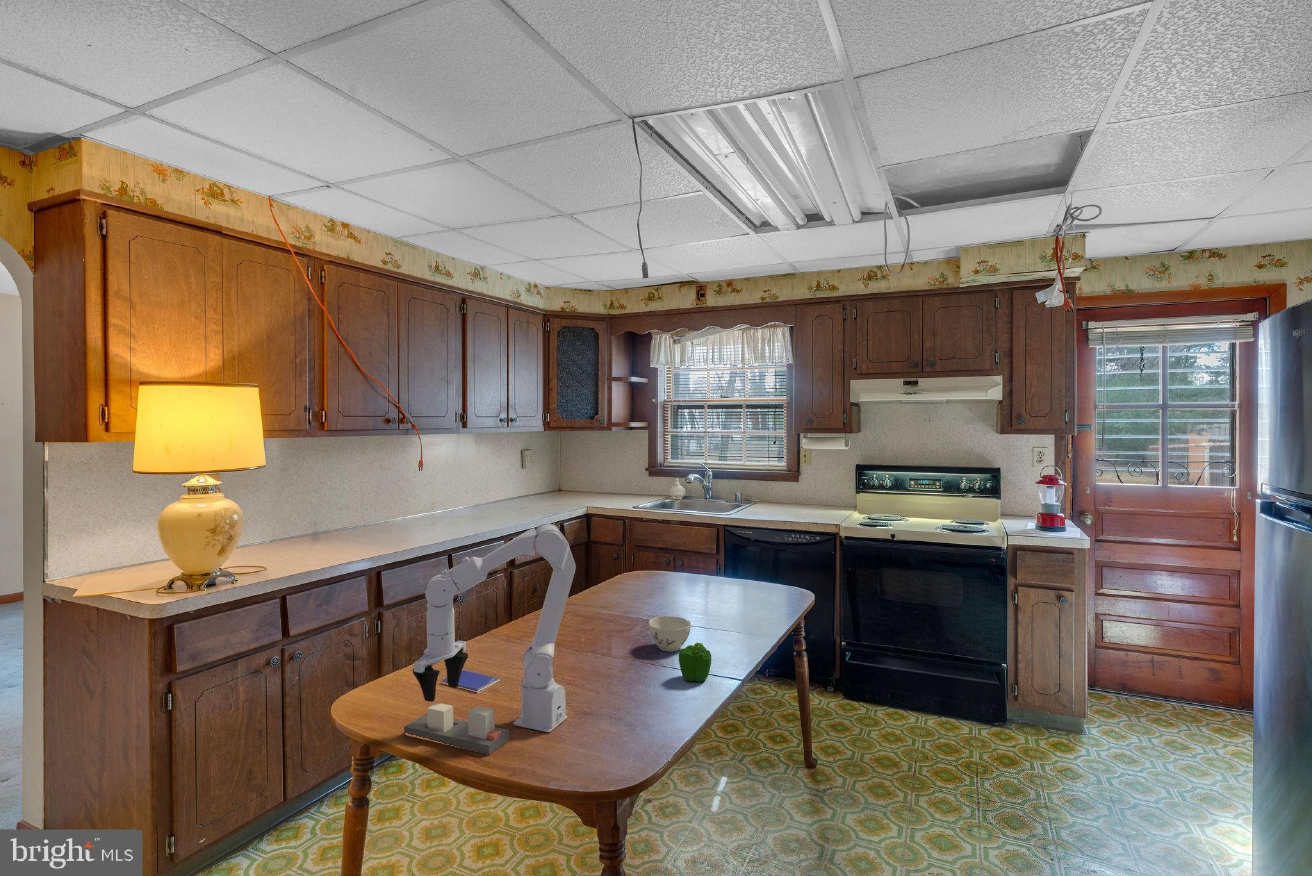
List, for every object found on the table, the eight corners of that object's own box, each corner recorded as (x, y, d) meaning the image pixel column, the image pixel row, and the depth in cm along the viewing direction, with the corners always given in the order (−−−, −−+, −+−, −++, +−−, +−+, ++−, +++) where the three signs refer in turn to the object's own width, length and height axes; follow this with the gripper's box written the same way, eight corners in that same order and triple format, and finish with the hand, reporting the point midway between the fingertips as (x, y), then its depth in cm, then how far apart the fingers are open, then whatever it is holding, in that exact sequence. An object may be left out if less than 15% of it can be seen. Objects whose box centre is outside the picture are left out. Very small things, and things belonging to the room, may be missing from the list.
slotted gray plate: (509, 739, 140) (509, 707, 140) (489, 755, 134) (488, 721, 133) (427, 721, 148) (426, 691, 148) (404, 735, 142) (403, 703, 142)
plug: (453, 733, 143) (453, 705, 143) (444, 739, 140) (443, 711, 140) (437, 729, 145) (436, 702, 145) (427, 735, 142) (427, 708, 142)
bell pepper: (674, 675, 175) (674, 638, 174) (702, 671, 178) (702, 634, 177) (686, 687, 167) (686, 648, 167) (716, 682, 170) (716, 644, 170)
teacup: (676, 659, 186) (676, 631, 186) (640, 650, 193) (640, 623, 193) (702, 644, 199) (702, 617, 199) (668, 636, 206) (668, 611, 206)
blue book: (500, 677, 171) (464, 669, 177) (477, 689, 164) (441, 680, 169) (500, 683, 171) (464, 675, 177) (477, 695, 164) (441, 686, 170)
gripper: (447, 619, 151) (448, 678, 151) (401, 639, 138) (402, 704, 138) (473, 623, 148) (474, 683, 149) (429, 644, 135) (429, 709, 135)
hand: (441, 693), depth 143 cm, fingers open, 7 cm apart
